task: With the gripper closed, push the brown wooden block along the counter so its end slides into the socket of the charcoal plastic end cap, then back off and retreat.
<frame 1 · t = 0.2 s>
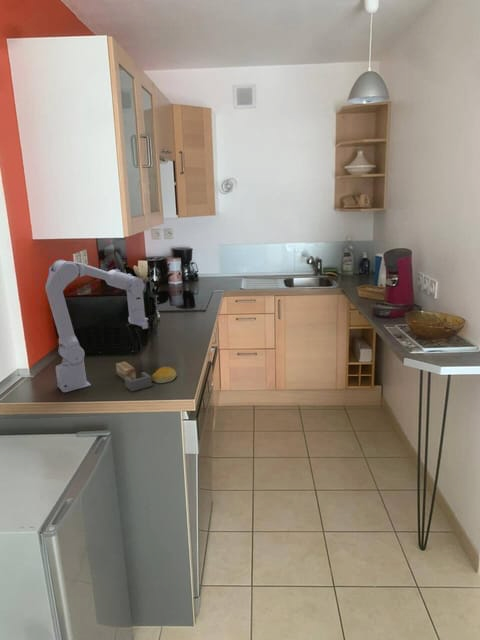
hand: (140, 343, 178), 10 cm above the table, fingers open, 7 cm apart
brown wooden block: (126, 377, 172), on the table
end cap: (139, 386, 162), on the table
bread roll: (164, 379, 169), on the table
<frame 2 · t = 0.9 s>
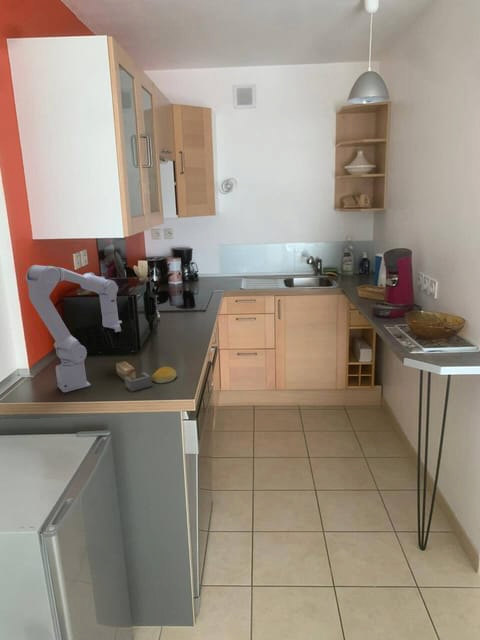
hand: (114, 346, 178), 9 cm above the table, fingers open, 4 cm apart
nothing on the table moved.
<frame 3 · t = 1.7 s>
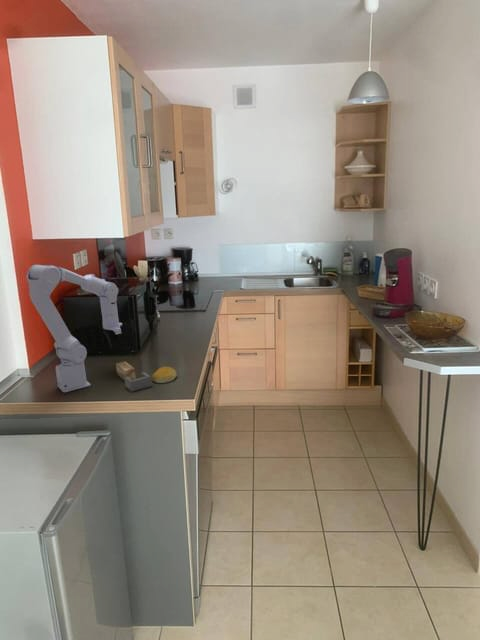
hand: (114, 348, 178), 9 cm above the table, fingers closed
nothing on the table moved.
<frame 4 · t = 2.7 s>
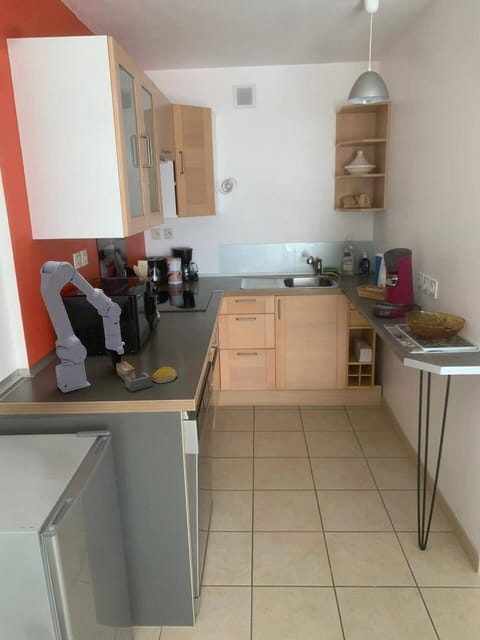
hand: (116, 367, 180), 1 cm above the table, fingers closed
nothing on the table moved.
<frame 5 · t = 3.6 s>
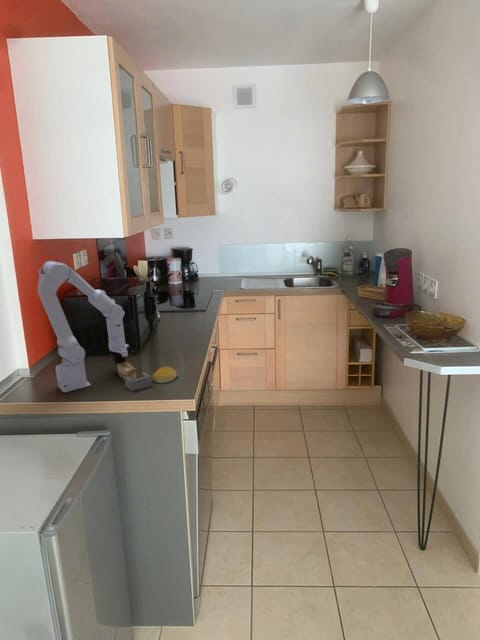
hand: (120, 370, 176), 1 cm above the table, fingers closed
brown wooden block: (127, 377, 171), on the table, touching gripper
everything else where it was.
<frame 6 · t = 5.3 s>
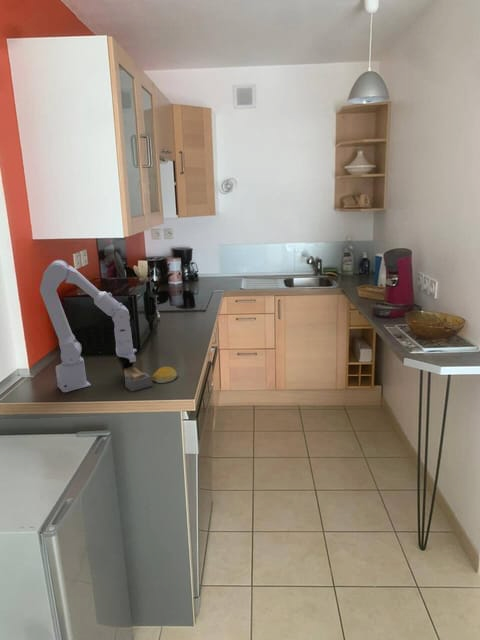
hand: (128, 375, 170), 1 cm above the table, fingers closed
brown wooden block: (135, 383, 165), on the table, touching end cap, gripper
everything else where it was.
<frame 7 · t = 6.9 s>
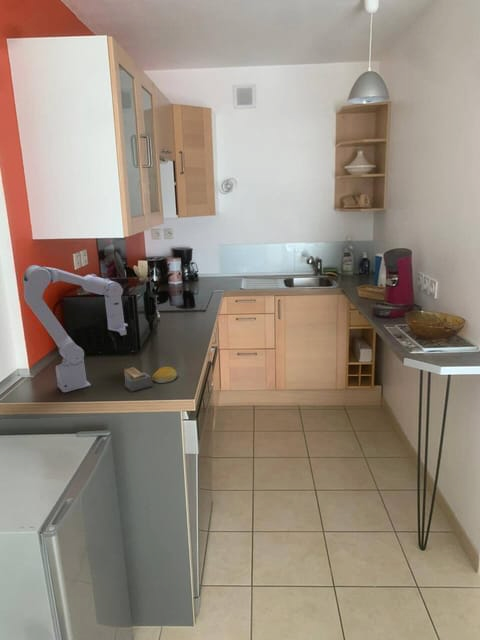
hand: (119, 349, 173), 9 cm above the table, fingers closed
brown wooden block: (135, 384, 165), on the table
everything else where it was.
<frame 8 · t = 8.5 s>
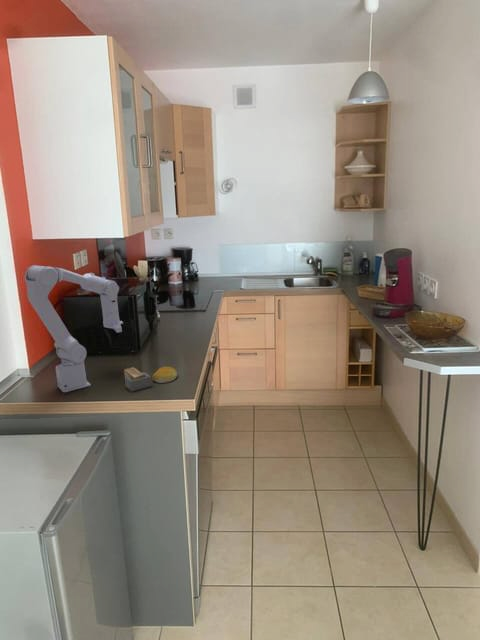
hand: (114, 346, 177), 9 cm above the table, fingers closed
nothing on the table moved.
at the end: brown wooden block 0.5 cm from the target spot on the table beside the end cap, on the table; brown wooden block tilted 0°; the gripper is holding nothing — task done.
